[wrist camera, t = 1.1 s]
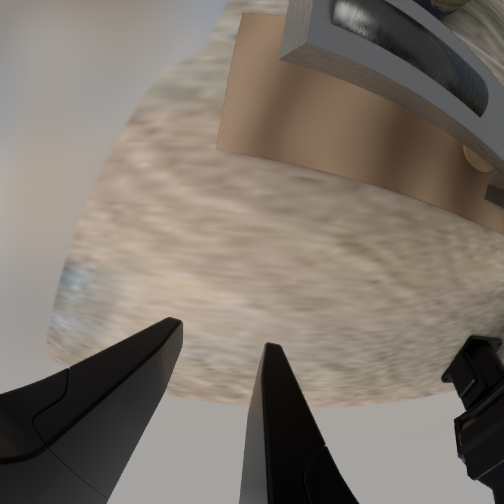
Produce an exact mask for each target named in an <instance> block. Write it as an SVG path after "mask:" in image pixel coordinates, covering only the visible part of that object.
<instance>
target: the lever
mask: <svg viewBox="0 0 504 504" xmlns="http://www.w3.org/2000/svg"><path fill="white" fill-rule="evenodd" d="M278 60H281V61H285V62H288V63H292V64H295V65H299V66H302V67H306V68H309V69H312V70H315V71H318V72H321V73H324V74H327V75H330V76H333V77H335V78H338V79H341V80H343V81H346V82H348V83H351V84H353V85H356V86H358V87H361V88H363V89H365V90H368V91H370V92H372V93H374V94H377V95H379V96H381V97H383V98H385V99H387V100H389V101H391V102H393V103H395V104H397V105H399V106H401V107H403V108H405V109H407V110H409V111H411V112H412V113H414V114H416V115H418V116H420V117H421V118H423V119H425V120H427V121H428V122H430V123H432V124H433V125H435V126H436V127H438V128H440V129H441V130H443V131H444V132H446V133H448V134H449V135H451V136H452V137H454V138H455V139H457V140H458V141H459V142H461V143H462V144H464V145H465V146H467V147H468V148H469V149H471V150H472V151H473V152H475V153H476V154H477V155H479V156H480V157H481V158H483V159H484V160H485V161H486V162H488V163H489V164H490V165H491V166H493V167H494V168H495V169H496V170H497V171H499V172H500V173H501V174H502V175H503V176H504V87H503V85H502V84H501V83H500V82H499V80H498V79H497V78H496V77H495V76H494V74H493V73H492V72H491V71H490V70H489V69H488V67H487V66H486V65H485V64H484V63H483V62H482V61H481V60H480V59H479V58H478V57H477V55H476V54H475V53H474V52H473V51H472V50H471V49H470V48H469V47H468V46H467V45H466V44H465V43H464V42H463V41H462V40H460V39H459V38H458V37H457V36H456V35H455V34H454V33H453V32H452V31H451V30H450V29H448V28H447V27H446V26H445V25H444V24H443V23H441V22H440V21H439V20H438V19H437V18H435V17H434V16H433V15H431V14H430V13H429V12H428V11H426V10H425V9H424V8H422V7H421V6H420V5H418V4H417V3H415V2H414V1H413V0H290V1H289V6H288V11H287V16H286V21H285V26H284V31H283V36H282V41H281V46H280V51H279V57H278Z"/></svg>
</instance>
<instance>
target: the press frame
mask: <svg viewBox="0 0 504 504" xmlns="http://www.w3.org/2000/svg"><path fill="white" fill-rule="evenodd" d="M484 199H485V200H487V201H489V202H491V203H492V204H494V205H496V206H498V207H500V208H502V209H503V210H504V190H503V189H500V188H497V187H494V186H492V185H489V184H488V186H487V190H486V194H485V197H484Z"/></svg>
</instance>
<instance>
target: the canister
mask: <svg viewBox="0 0 504 504" xmlns="http://www.w3.org/2000/svg"><path fill="white" fill-rule="evenodd" d="M413 1H414V2H415V3H417V4H418V5H420V6H421V7H422V8H424V9H425V10H426V11H428V12H429V13H430V14H431V15H433V16H434V17H444V16H447V15H449V14H451V13H453V12H454V11H456V10H457V9H459V8H460V7H461V6H463V5H464V4H466V3H467V2H469V1H470V0H413Z"/></svg>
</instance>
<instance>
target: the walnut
mask: <svg viewBox="0 0 504 504" xmlns="http://www.w3.org/2000/svg"><path fill="white" fill-rule="evenodd" d="M463 150H464V154H465V157H466V159H467V161H468V162H469V163H470V165H471V166H473V167H474V168H475V169H477V170H479V171H482V172H489V171H492V170H494V169H495V168H494V167H493V166H491V165H490V164H489V163H488V162H486V161H485V160H484V159H483V158H481V157H480V156H479V155H477V154H476V153H475V152H473V151H472V150H471V149H469V148H468V147H467V146H465V145H464V144H463Z"/></svg>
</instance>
